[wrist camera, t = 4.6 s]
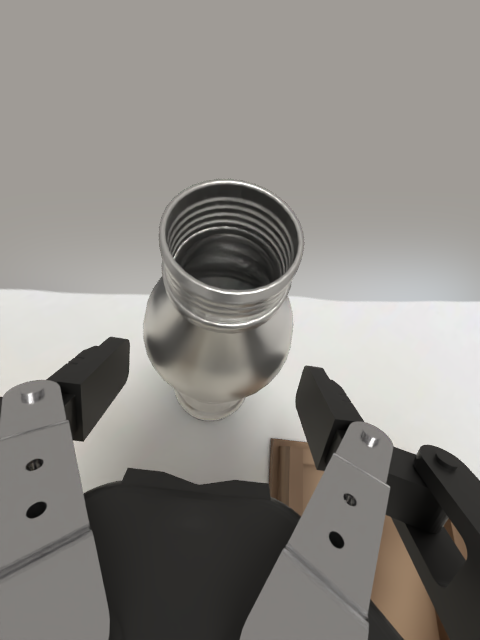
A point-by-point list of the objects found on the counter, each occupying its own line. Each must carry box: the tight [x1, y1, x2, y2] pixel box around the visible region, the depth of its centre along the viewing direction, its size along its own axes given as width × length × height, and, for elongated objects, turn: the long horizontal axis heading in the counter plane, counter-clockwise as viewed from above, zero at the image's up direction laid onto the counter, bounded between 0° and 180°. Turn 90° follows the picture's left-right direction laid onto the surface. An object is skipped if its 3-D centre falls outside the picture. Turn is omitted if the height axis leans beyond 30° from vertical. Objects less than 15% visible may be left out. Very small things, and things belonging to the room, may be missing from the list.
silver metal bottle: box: [143, 179, 304, 421], centre depth 15 cm, size 6×7×20 cm
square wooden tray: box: [269, 439, 467, 640], centre depth 19 cm, size 14×14×4 cm
